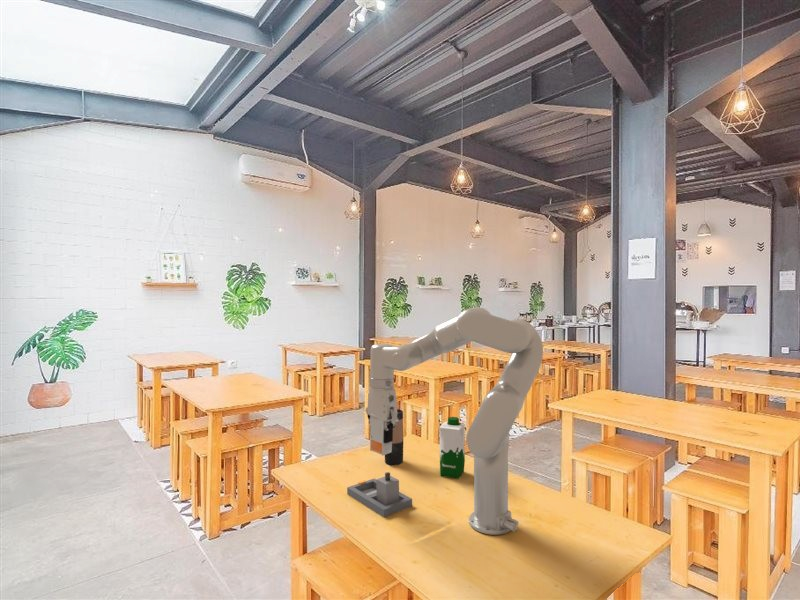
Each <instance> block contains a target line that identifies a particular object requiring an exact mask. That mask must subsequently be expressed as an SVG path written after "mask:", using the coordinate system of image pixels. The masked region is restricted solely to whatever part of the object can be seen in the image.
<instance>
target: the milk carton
mask: <svg viewBox="0 0 800 600" xmlns="http://www.w3.org/2000/svg"><path fill="white" fill-rule="evenodd" d="M459 419H460V418H459V417H457V416H449V417H447V421H444V422H443V423H442V424H441V425H440V426H439V427H438V430H439V431H438V432H439V470H440V471H439V472H440V473H439V475H440V477H444V478H449V479H455V480H457V479H459V480H460V478H461V477H462V475H463V473H464V472H465V462H466V461H465V460H466V458H465V457H466V456H465V455H466V454H465V453H466V450H465V449H466V447H465V446H466V445H465V444H466V443H465V437H466V436H465V435H466V433H465V432H466V431H465V428H466V427H465V423H461V422H460V420H459Z"/></svg>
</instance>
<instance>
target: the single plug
mask: <svg viewBox="0 0 800 600" xmlns="http://www.w3.org/2000/svg"><path fill="white" fill-rule="evenodd" d="M375 479H376V487H377V501H378V502H379V503H381V504H383V505H384V506H388V505H390V504H393V503H395V502H398V501H399V492H400V480H399V479H398V478H396V477H394V476H392V475H391V472H384V476H383V477H379V478H375Z"/></svg>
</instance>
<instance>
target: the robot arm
mask: <svg viewBox="0 0 800 600" xmlns="http://www.w3.org/2000/svg"><path fill="white" fill-rule="evenodd" d="M473 342H474V343H477V344H480V345H483V346H486V347H489V348H491V349H494V350H497V351H499V352H503V353H507V354H510V357H509V359H508V361H507V362H506V364H505V367H504V370H503V371H502V373H501V375H500V377H499V379H498V381H497V383H496V384H495V386H493V387H492V388H491V389H490V391H488V392H487V394H486V395H485V396H484V398H483V400H482V402H481V404H480V406H479V408H478V410H477V412H476V414H475V416H474V418H473V420H472V422H471V425H470V426H469V428H468V430H467V434H466V436H465V437H466V445H467V448H468V450H469V451H470V453H471V454H472V455H473V456H474V457H473V465H474V466H473V481H474V482H473V483H474V484H473V489H474V491H473V492H474V494H473V497H474V498H473V499H474V500H473V501H474V502H473V503H474V504H473V505H474V506H473V509H474V510H473V512H472V513H471V514H470V515H469V517H468V524H469V525H470V527H471V528H472V529H473V530H475V531H477V532H479V533H481V534H487V535H492V536H497V535H504V534H507V533H509V532H510V531H512V532H514V533H515V532H516V531H517V530H518V526H519V521H518V520H517V519H513V518H512V511H511V510H510V509H509V479H508V478H509V446H510V445H509V444H510V432H511V429H512V428H513V425H514V423H515V422H516V419H518V416H519V414H520V412H521V411H522V409H523V406H524V402H525V400H526V398H527V396H528V394H529V392H530V390H531V388H532V386H533V383H534V382H535V380H536V377H537V375H538V374H539V370H540V368H541V366H542V361H543V357H544V345H543V342H542V339H541V336H540V334H539V332H538V331H537V330H536V328H535V327H534V325H532V323H530V322H529V321H527V320H524V319H520V318H516V319H512V320H510V319H506V318H502V317H499V316H496V315H494V314H491V313H490V311H488V310H487V309H486V308H483V307H472V308H470V307H469V308H467V309H465V310H464V311H462V312H461V313H460V314H459V315H457V316H455V317H453V318H451V319H448V320H447V321H445V322H442V323H441V324H438V325H436V326H435V327H434V328H433V329H432V331H430V332H429V333H428V334H426V335H424V336H422V337H420V338H417V339H415V340H414V341H411V342H409V343H405V344H402V345H398V346H394V345H392V344H389V343H375V344H373V345H371V347H370V351H369V352H370V353H369V354H370V355H369V356H370V358H369V359H370V364H369V365H370V367H369V371H370V372H369V376H370V377H369V389H368V396H367V397H368V398H367V407H366V408H365V413H366V415H367V419H368V424H369V425H370V422H371V414H373V415H375V416H377V418H378V419H379V420H382V421H384V427H385V430H384V443H389V442H392V441H393V429H394V427H395V426H396V424H397V423H398V422H399V420H398V418H397V409H398V400H397V392H396V388H395V387H394V385H395V384H394V383H395V382H394V381H395V378H394V377H395V375H394V374H395V371H399V372H404V371H407V370H410V369H411V368H414V367H416V366H419V365H420V364H422V363H425V362H428V361H429V360H432V359H433V358H435V357H439V356H440V355H442V354H448V353H450V352H452V351H455V350H457V349H458V348H460V347H463V346H465V345H468V344H469V343H473ZM388 417H390V419H389V420H388ZM387 422H389V423H390V424H389V425H388V424H387Z"/></svg>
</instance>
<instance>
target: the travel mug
mask: <svg viewBox="0 0 800 600" xmlns="http://www.w3.org/2000/svg"><path fill="white" fill-rule="evenodd" d="M397 418H398V420H399V422H398V423H397V424H396V426H395V427H394V429H393V441H392V452H391V453H388V454H386V455H384V464H385V465H388V466H400V465H402V464H403V462H404V411H403V410H401V409H398V408H397Z"/></svg>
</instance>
